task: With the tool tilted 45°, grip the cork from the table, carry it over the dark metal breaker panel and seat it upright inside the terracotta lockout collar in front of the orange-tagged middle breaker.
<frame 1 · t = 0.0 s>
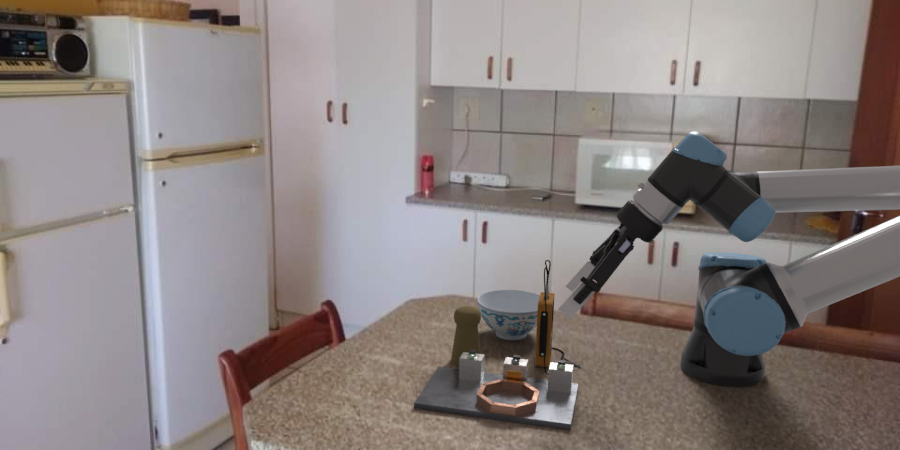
hand: (567, 301, 129), 15 cm above the table, tool tilted 35°, fingers open, 13 cm apart
multimeter: (561, 363, 141), on the table
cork: (466, 362, 140), on the table
chinaware: (511, 335, 155), on the table
breaker panel: (498, 398, 125), on the table
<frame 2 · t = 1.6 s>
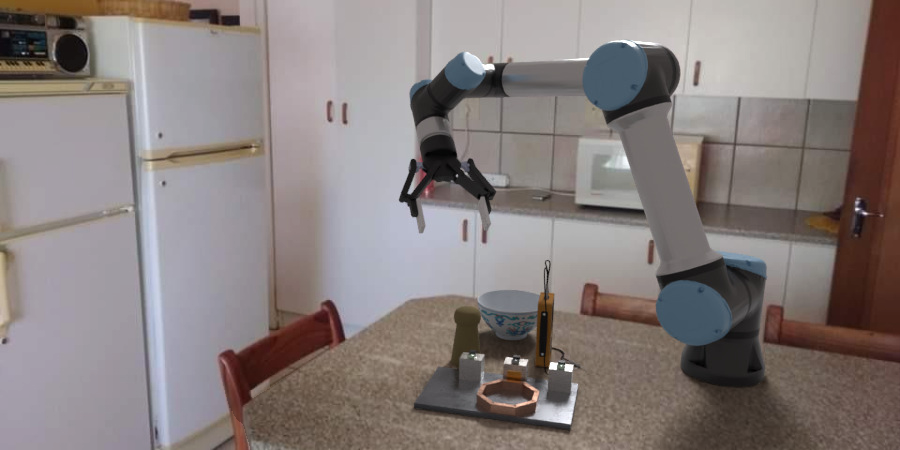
hand: (455, 228, 143), 25 cm above the table, tool tilted 45°, fingers open, 13 cm apart
nothing on the table moved.
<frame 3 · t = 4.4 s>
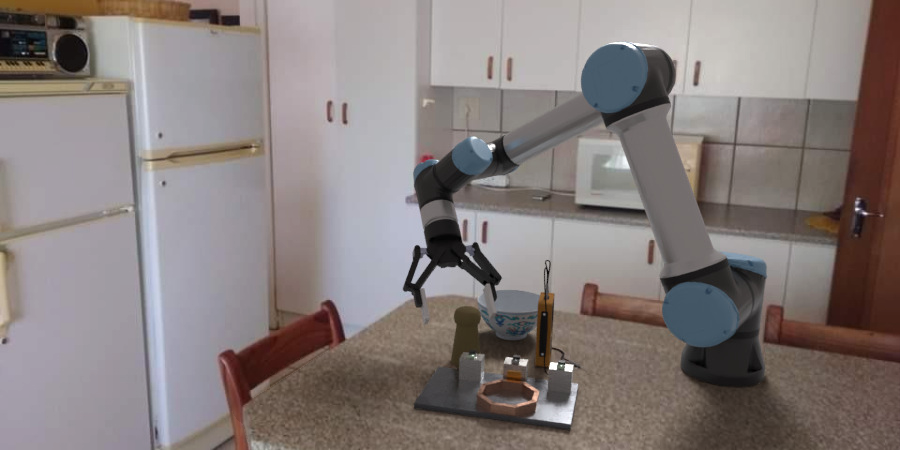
hand: (460, 318, 141), 8 cm above the table, tool tilted 45°, fingers open, 13 cm apart
nothing on the table moved.
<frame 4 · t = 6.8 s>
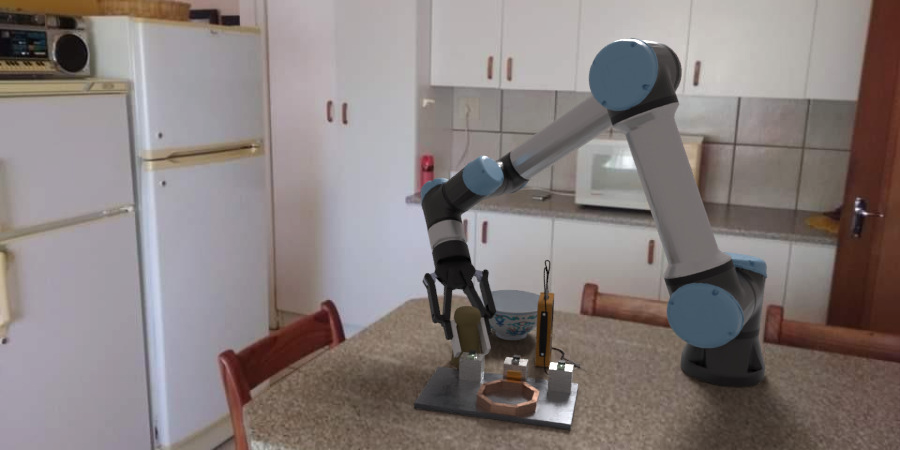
hand: (472, 352, 136), 3 cm above the table, tool tilted 45°, fingers closed on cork, 5 cm apart
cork: (466, 362, 140), on the table, touching gripper
everything else where it was.
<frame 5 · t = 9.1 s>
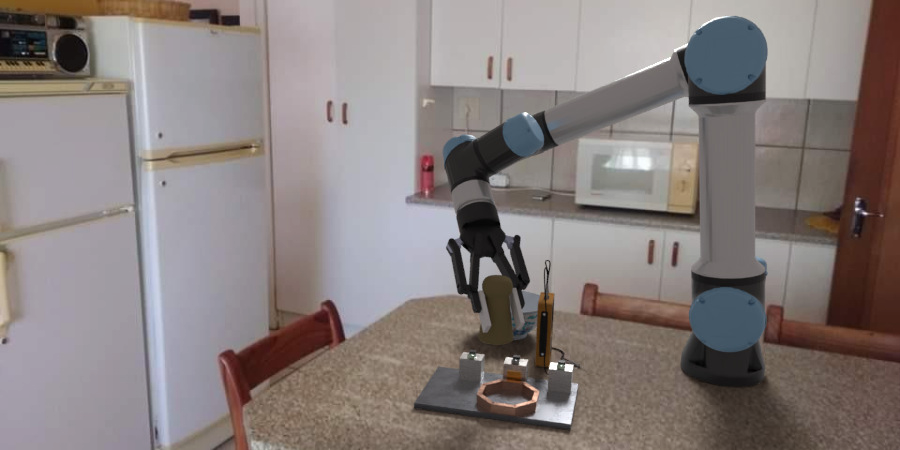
hand: (504, 327, 119), 14 cm above the table, tool tilted 45°, fingers closed on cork, 5 cm apart
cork: (495, 339, 124), point 11 cm above the table, touching gripper
everything else where it was.
when the fingers open (5 cm above the table, at t = 11.8 s): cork moves 1 cm, resting on breaker panel.
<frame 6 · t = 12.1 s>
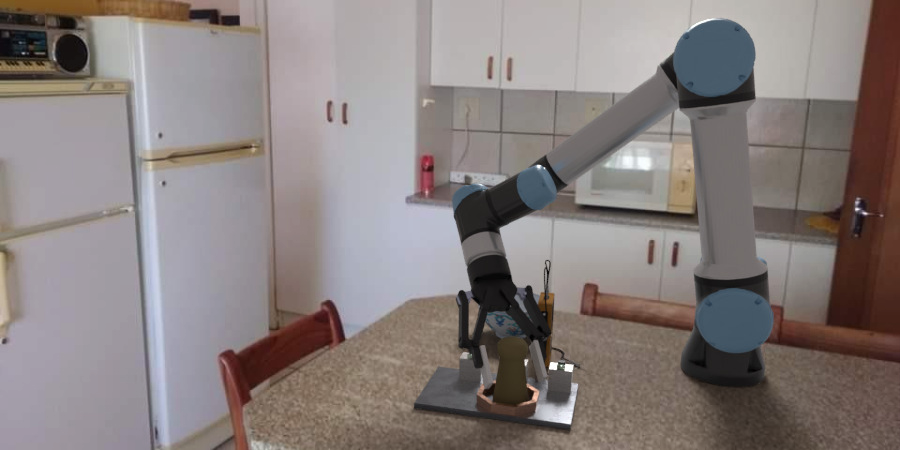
hand: (516, 382, 118), 6 cm above the table, tool tilted 45°, fingers open, 9 cm apart
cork: (510, 401, 122), point 1 cm above the table, touching breaker panel
everything else where it was.
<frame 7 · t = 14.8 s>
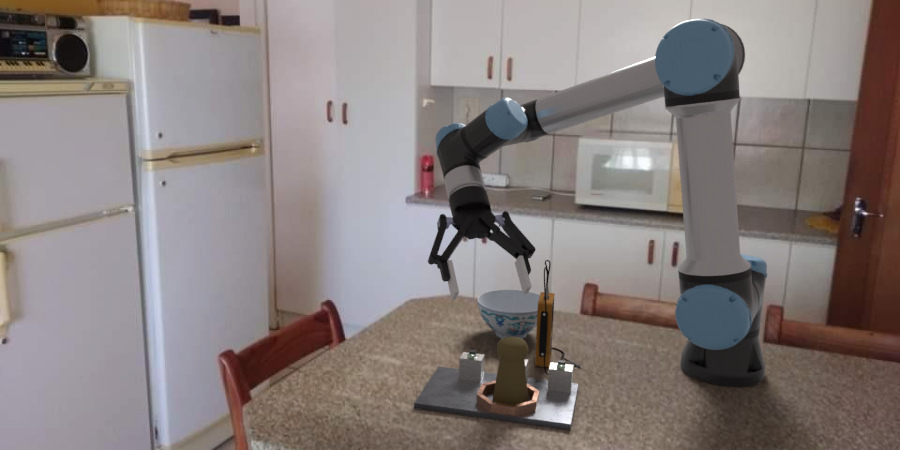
hand: (492, 293, 128), 17 cm above the table, tool tilted 45°, fingers open, 13 cm apart
nothing on the table moved.
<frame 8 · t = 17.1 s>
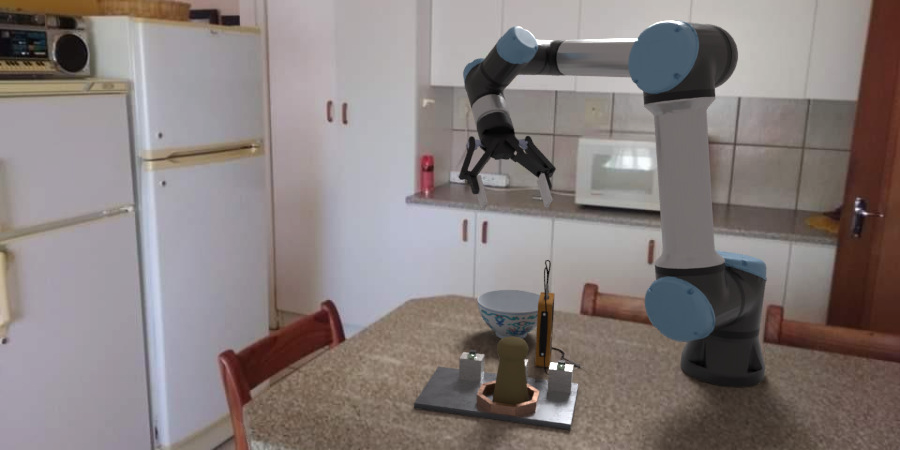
hand: (517, 205, 141), 30 cm above the table, tool tilted 45°, fingers open, 13 cm apart
nothing on the table moved.
at the end: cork 0.5 cm from the target spot, point 0.8 cm above the table; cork tilted 0°; the gripper is holding nothing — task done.
